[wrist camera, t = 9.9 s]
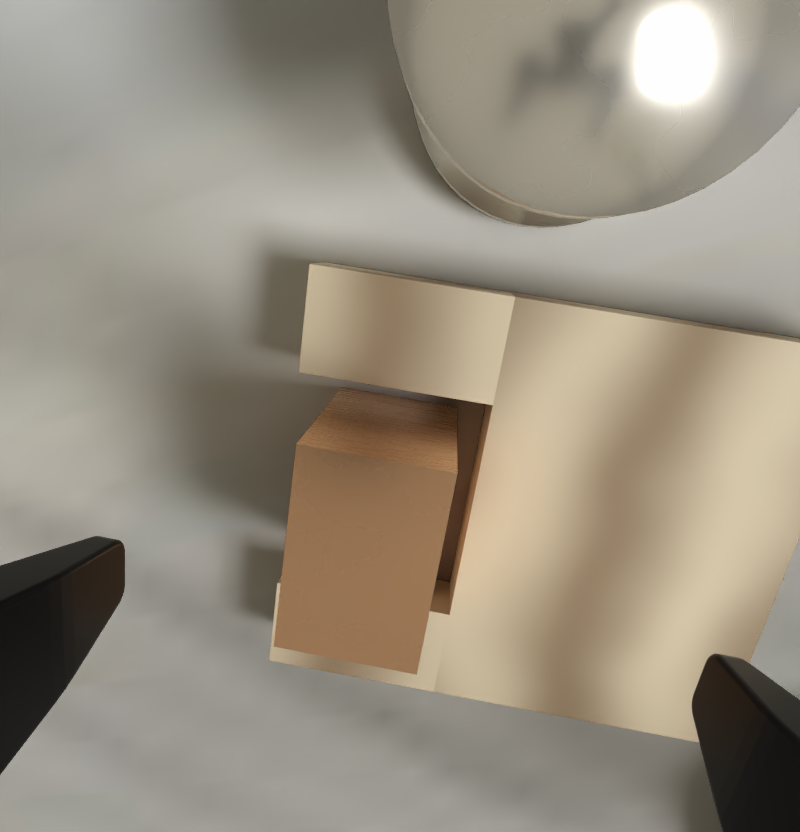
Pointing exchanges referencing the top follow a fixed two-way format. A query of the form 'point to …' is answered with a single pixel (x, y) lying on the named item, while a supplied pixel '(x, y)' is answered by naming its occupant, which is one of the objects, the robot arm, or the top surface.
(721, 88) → the bobbin
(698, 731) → the robot arm
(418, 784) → the top surface
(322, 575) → the wooden block
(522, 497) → the notched board
